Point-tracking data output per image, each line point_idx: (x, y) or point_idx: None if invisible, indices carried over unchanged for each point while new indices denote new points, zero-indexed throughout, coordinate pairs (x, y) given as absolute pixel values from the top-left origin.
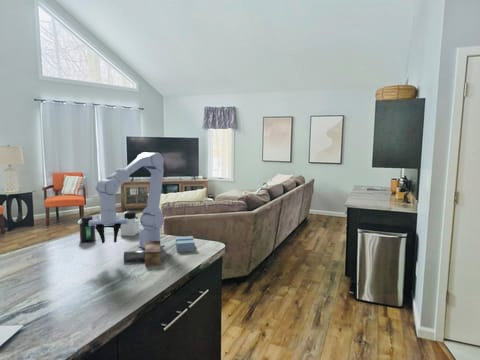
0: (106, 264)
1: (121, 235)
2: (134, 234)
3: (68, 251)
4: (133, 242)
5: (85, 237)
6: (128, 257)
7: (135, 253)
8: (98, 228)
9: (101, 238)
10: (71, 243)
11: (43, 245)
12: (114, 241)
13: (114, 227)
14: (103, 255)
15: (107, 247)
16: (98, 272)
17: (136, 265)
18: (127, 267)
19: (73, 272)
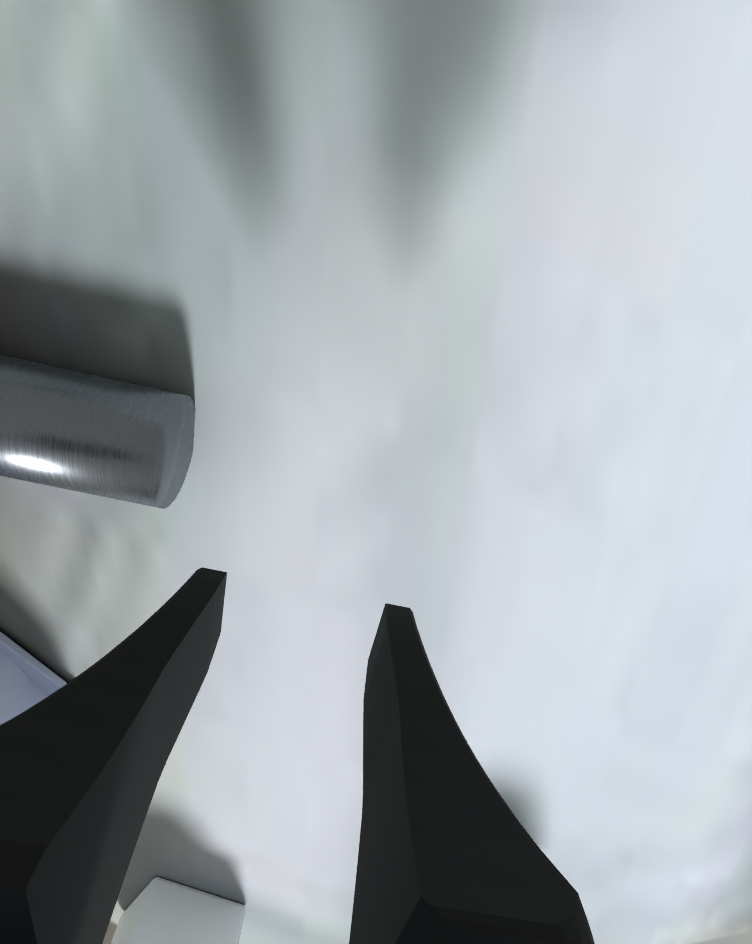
0: (377, 409)
1: (241, 904)
2: (146, 890)
3: (627, 792)
4: None
5: None
6: (118, 391)
7: (10, 405)
8: (525, 912)
9: (425, 667)
10: None
11: (741, 916)
12: (213, 580)
13: (7, 838)
14: None
15: (344, 767)
16: (486, 188)
17: (39, 226)
18: (143, 204)
19: (734, 322)
